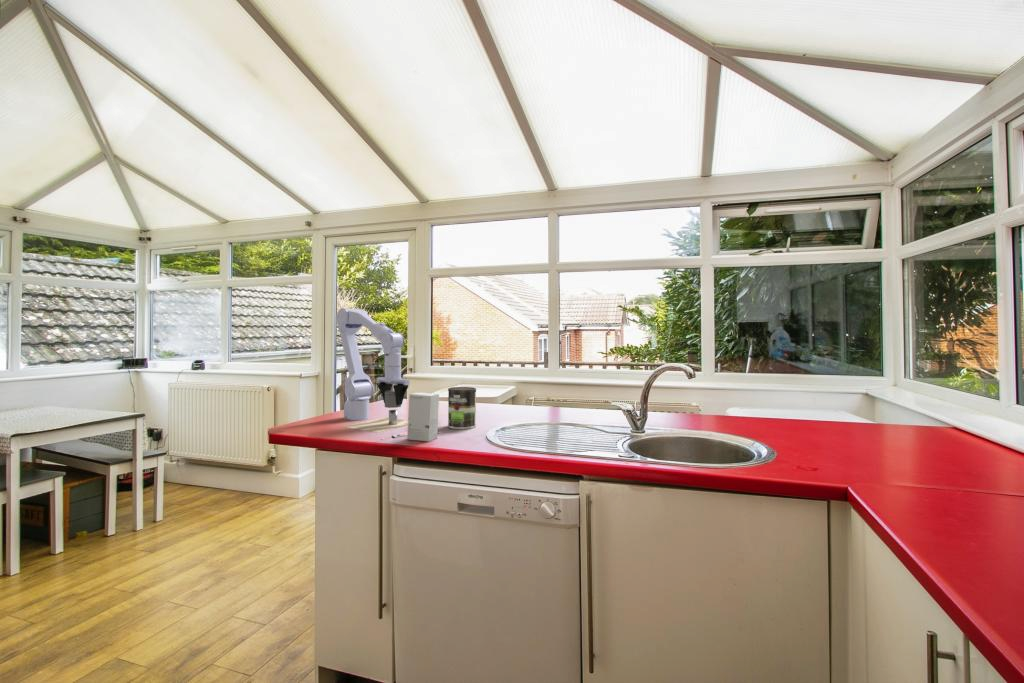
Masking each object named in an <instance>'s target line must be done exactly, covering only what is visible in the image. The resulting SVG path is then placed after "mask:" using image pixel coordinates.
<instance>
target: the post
mask: <svg viewBox="0 0 1024 683" xmlns="http://www.w3.org/2000/svg"><path fill="white" fill-rule="evenodd" d="M388 418H389V425H396V424H397V419H398V409H389V410H388Z"/></svg>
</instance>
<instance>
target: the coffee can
mask: <svg viewBox="0 0 1024 683" xmlns="http://www.w3.org/2000/svg"><path fill="white" fill-rule="evenodd" d="M447 391H448V394H447V395H448V402H447V403H448V406H447V407H448V408H447V409H448V410H447V411H448V412H447V413H448V415H447V416H448V417H447V419H448V422H447V424H448V425H447V427H448V428H449V429H452V430H468V429H469V430H470V429H474V428H476V427H477V424H476V420H477V419H476V418H477V417H476V414H477V413H476V412H477V410H476V409H477V408H476V406H477V405H476V404H477V401H476V400H477V388H476V387H469V386H456V387H455V386H453V387H452V386H451V387H449V388H448V389H447Z"/></svg>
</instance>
